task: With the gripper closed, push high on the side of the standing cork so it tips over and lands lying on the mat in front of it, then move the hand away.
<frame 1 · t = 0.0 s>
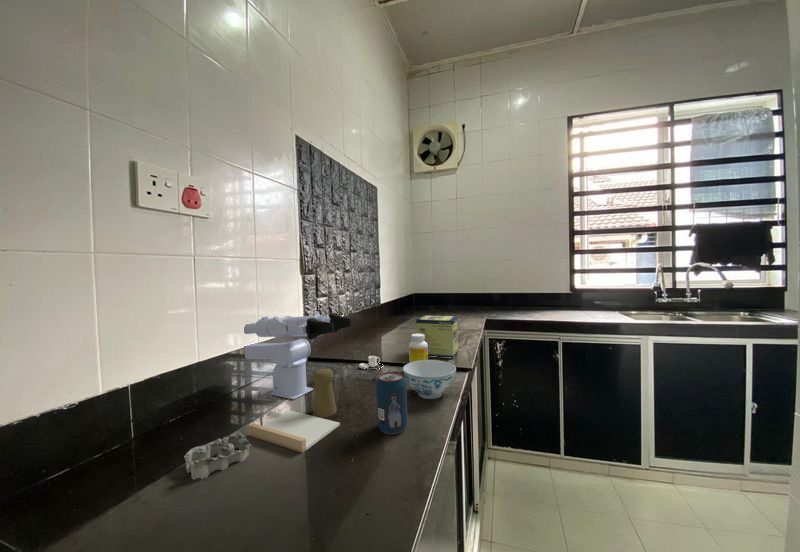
hand: (342, 324, 84), 22 cm above the worktop, tool horizontal, fingers open, 7 cm apart
chinaware: (430, 394, 90), on the worktop
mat: (295, 430, 72), on the worktop
egg carton: (218, 464, 61), on the worktop
protein box: (438, 355, 130), on the worktop
soda can: (392, 428, 71), on the worktop
cork: (324, 412, 81), on the worktop
teacup and saucer: (367, 366, 119), on the worktop
supplement bottle: (419, 371, 110), on the worktop
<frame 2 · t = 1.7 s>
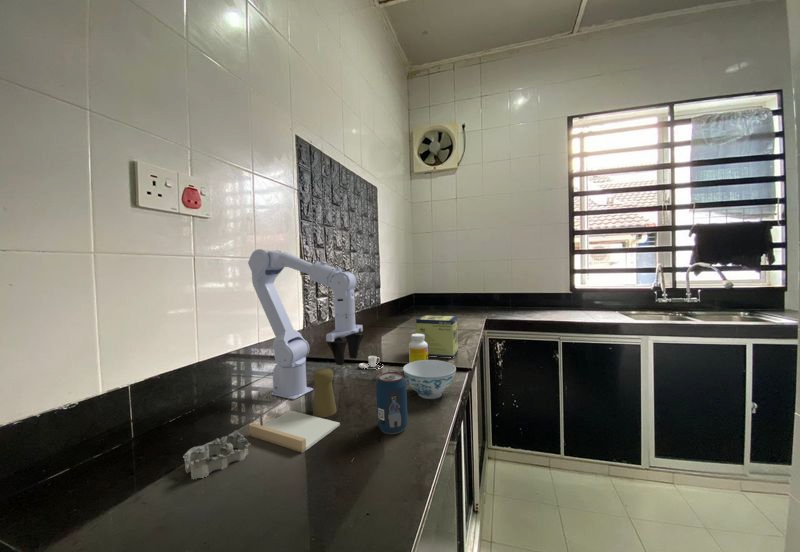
hand: (346, 361, 89), 10 cm above the worktop, tool pointing down, fingers open, 6 cm apart
nothing on the worktop moved.
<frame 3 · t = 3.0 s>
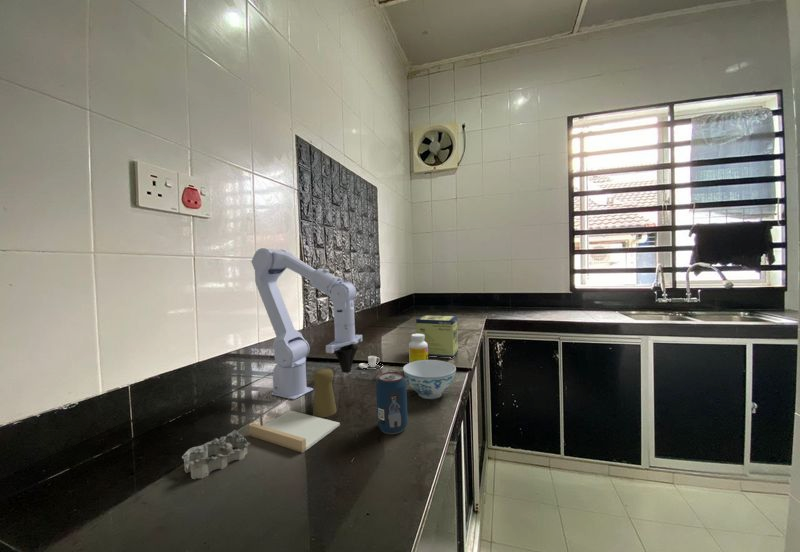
hand: (346, 371, 89), 7 cm above the worktop, tool pointing down, fingers closed
nothing on the worktop moved.
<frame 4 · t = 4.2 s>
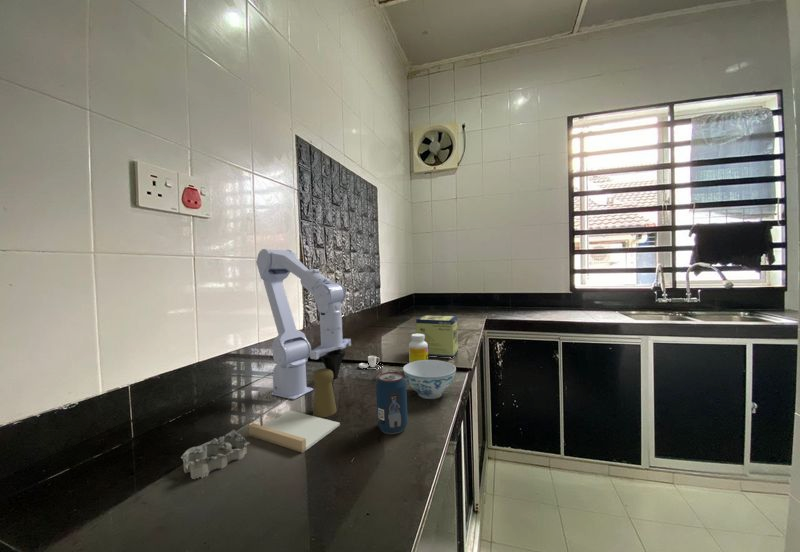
hand: (333, 378, 84), 7 cm above the worktop, tool pointing down, fingers closed
cork: (324, 412, 81), on the worktop, touching gripper
everything else where it was.
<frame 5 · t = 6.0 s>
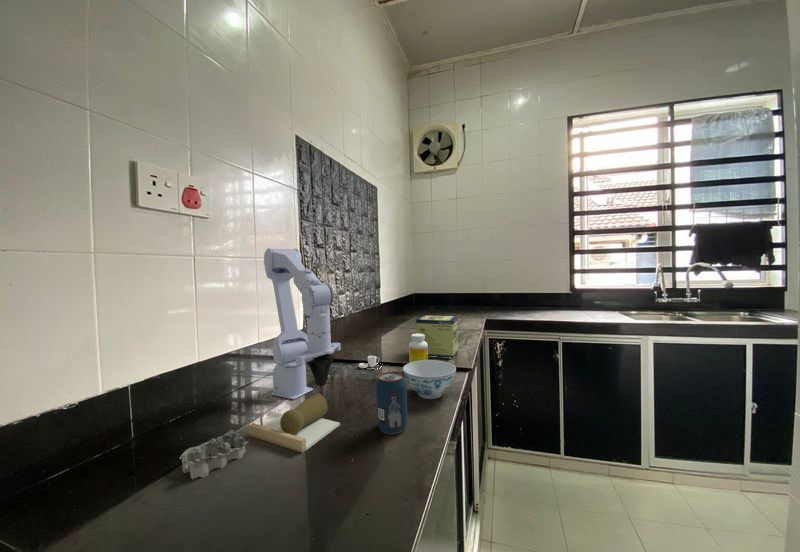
hand: (321, 384, 79), 7 cm above the worktop, tool pointing down, fingers closed
cork: (318, 404, 78), point 3 cm above the worktop, touching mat
everything else where it was.
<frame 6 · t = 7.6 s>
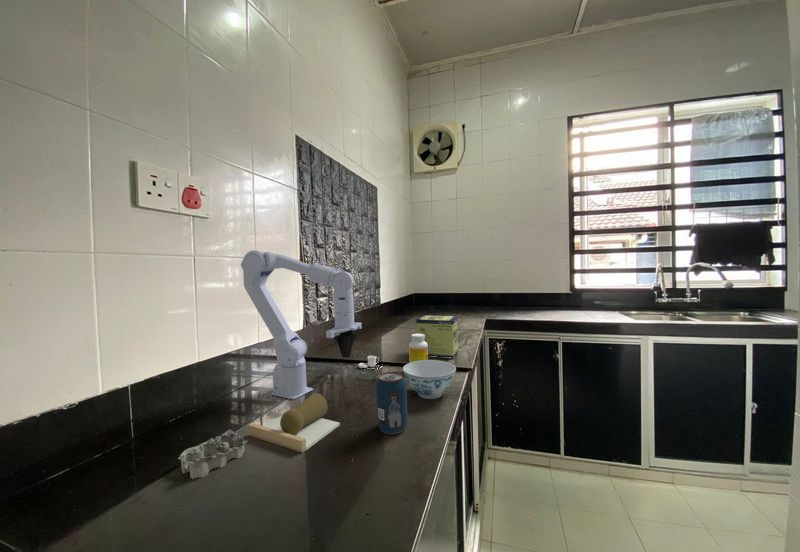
hand: (346, 356, 93), 10 cm above the worktop, tool pointing down, fingers closed
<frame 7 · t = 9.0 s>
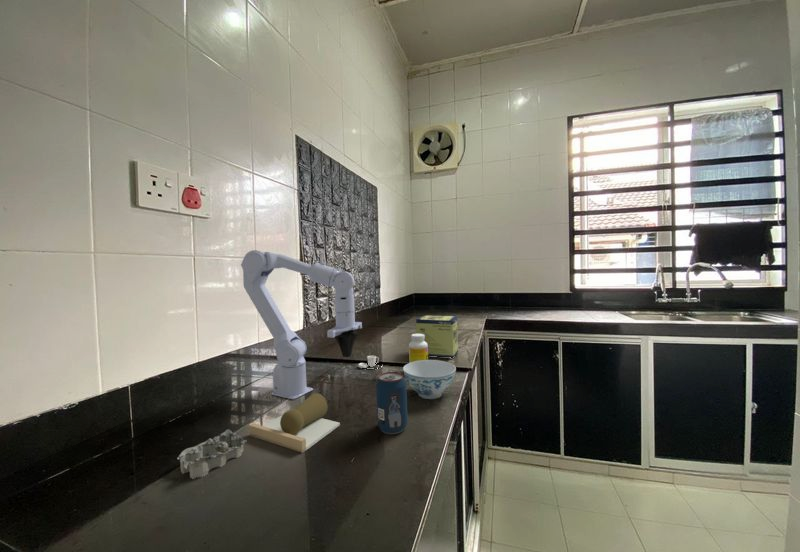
hand: (346, 356, 94), 10 cm above the worktop, tool pointing down, fingers closed
at the end: cork tilted 89°; cork inside the target area (5.8 cm from its centre), point 3.0 cm above the worktop; the gripper is holding nothing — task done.
